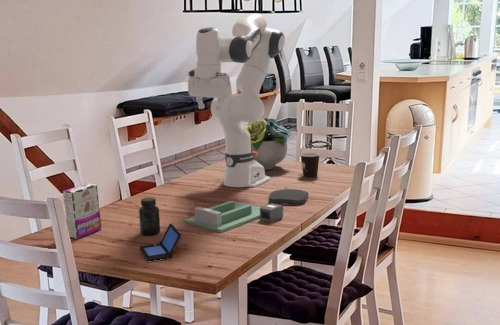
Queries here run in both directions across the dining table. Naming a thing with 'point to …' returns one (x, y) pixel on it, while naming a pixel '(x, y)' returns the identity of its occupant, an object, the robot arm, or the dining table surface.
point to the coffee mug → (310, 164)
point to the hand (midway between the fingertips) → (210, 109)
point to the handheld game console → (162, 245)
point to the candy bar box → (82, 210)
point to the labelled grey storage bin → (271, 212)
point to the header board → (228, 225)
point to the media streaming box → (288, 197)
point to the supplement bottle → (149, 217)
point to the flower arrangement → (268, 141)
